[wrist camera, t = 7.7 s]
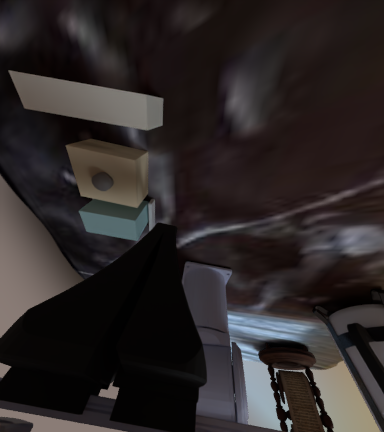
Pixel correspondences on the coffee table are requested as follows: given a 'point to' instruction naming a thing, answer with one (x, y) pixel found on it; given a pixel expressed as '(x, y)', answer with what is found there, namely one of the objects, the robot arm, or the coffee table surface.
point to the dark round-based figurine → (296, 389)
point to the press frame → (90, 105)
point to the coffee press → (362, 348)
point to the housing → (110, 171)
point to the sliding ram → (115, 219)
